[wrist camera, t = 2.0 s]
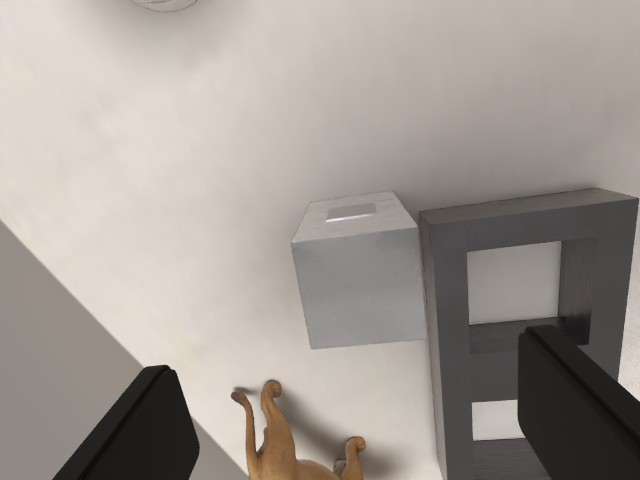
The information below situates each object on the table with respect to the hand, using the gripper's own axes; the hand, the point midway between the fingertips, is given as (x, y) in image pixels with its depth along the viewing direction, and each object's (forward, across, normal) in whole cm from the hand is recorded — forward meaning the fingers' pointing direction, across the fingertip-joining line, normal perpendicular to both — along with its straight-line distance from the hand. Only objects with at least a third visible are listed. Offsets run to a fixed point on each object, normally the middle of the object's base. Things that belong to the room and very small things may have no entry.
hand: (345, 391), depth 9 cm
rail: (+13, -10, +9) cm, 19 cm away
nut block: (+13, -1, 0) cm, 13 cm away
